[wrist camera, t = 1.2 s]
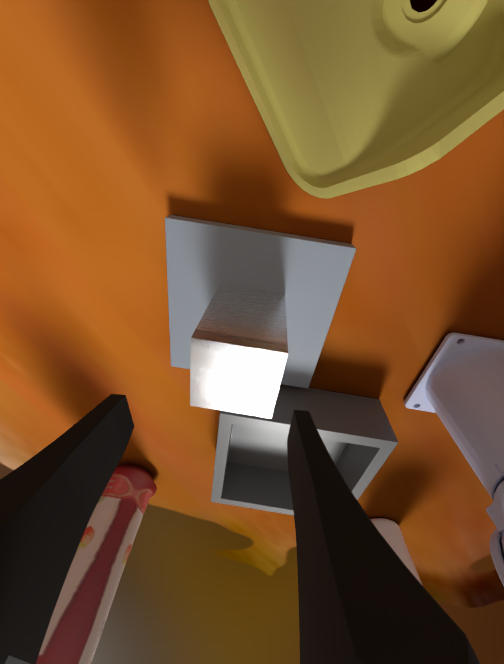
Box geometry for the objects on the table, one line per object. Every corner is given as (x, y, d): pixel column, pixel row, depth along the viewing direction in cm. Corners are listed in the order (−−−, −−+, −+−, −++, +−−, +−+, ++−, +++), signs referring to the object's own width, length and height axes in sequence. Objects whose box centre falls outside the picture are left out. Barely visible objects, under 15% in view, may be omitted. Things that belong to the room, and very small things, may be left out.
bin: (379, 399, 24) (398, 442, 20) (333, 480, 31) (341, 522, 28) (229, 374, 24) (219, 413, 20) (219, 461, 31) (210, 501, 28)
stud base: (351, 243, 17) (379, 271, 12) (306, 379, 23) (313, 430, 19) (171, 214, 17) (131, 231, 12) (175, 357, 24) (150, 403, 19)
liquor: (124, 450, 32) (-320, 1250, 8) (172, 476, 34) (-67, 1164, 11) (98, 470, 35) (-279, 1093, 11) (143, 494, 37) (-91, 1053, 14)
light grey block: (285, 293, 18) (288, 353, 12) (273, 347, 20) (271, 418, 15) (219, 283, 18) (190, 337, 12) (216, 337, 21) (190, 405, 15)
